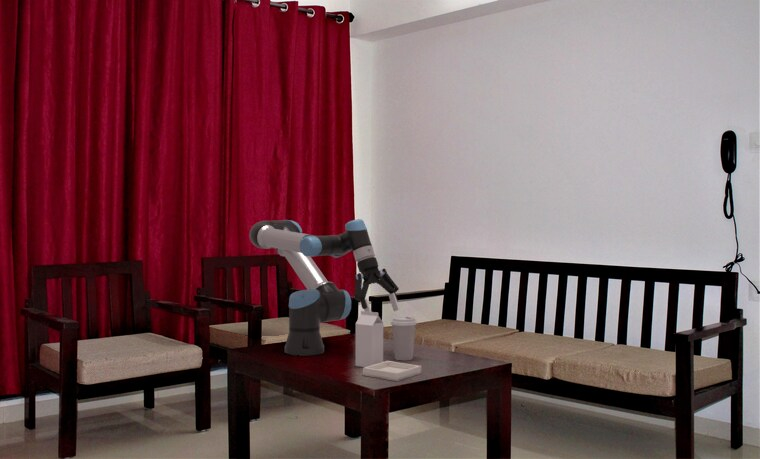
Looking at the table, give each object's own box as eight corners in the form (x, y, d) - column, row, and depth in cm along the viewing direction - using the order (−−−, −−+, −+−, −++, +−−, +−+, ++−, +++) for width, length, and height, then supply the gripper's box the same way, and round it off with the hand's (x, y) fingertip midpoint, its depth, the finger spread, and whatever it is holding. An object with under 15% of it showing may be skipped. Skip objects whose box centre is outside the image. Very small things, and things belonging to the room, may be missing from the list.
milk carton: (372, 368, 256) (372, 313, 255) (355, 366, 259) (355, 312, 259) (383, 365, 262) (383, 311, 261) (366, 362, 265) (366, 309, 265)
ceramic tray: (362, 375, 246) (362, 367, 246) (387, 367, 257) (387, 360, 257) (397, 381, 238) (397, 373, 238) (421, 373, 249) (421, 365, 249)
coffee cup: (414, 361, 267) (414, 320, 266) (388, 360, 269) (388, 319, 268) (418, 356, 276) (418, 316, 276) (393, 355, 278) (393, 315, 278)
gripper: (346, 260, 267) (364, 316, 263) (396, 252, 284) (413, 305, 280) (334, 267, 273) (351, 322, 268) (384, 258, 289) (401, 310, 285)
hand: (383, 313), depth 274 cm, fingers open, 13 cm apart
